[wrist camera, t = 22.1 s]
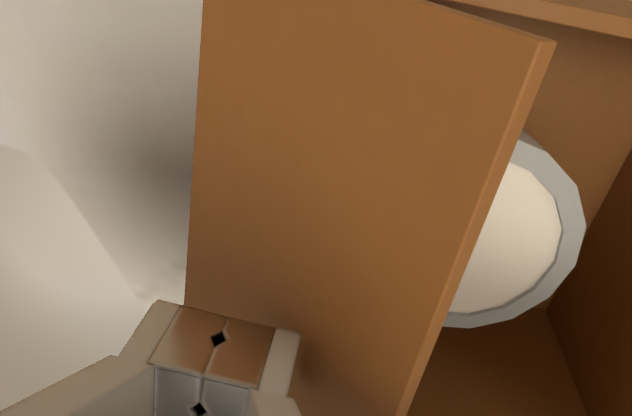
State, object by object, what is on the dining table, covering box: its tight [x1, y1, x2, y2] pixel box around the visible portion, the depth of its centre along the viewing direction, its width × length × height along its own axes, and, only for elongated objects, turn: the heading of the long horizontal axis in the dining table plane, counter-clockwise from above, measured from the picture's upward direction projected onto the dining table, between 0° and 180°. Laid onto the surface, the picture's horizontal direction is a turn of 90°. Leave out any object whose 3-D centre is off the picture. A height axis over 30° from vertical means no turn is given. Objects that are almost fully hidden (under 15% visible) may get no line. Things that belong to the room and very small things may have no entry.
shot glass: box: [443, 129, 586, 328], centre depth 18 cm, size 7×7×7 cm
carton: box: [406, 0, 632, 416], centre depth 18 cm, size 14×15×9 cm
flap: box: [184, 0, 556, 416], centre depth 11 cm, size 14×7×1 cm
